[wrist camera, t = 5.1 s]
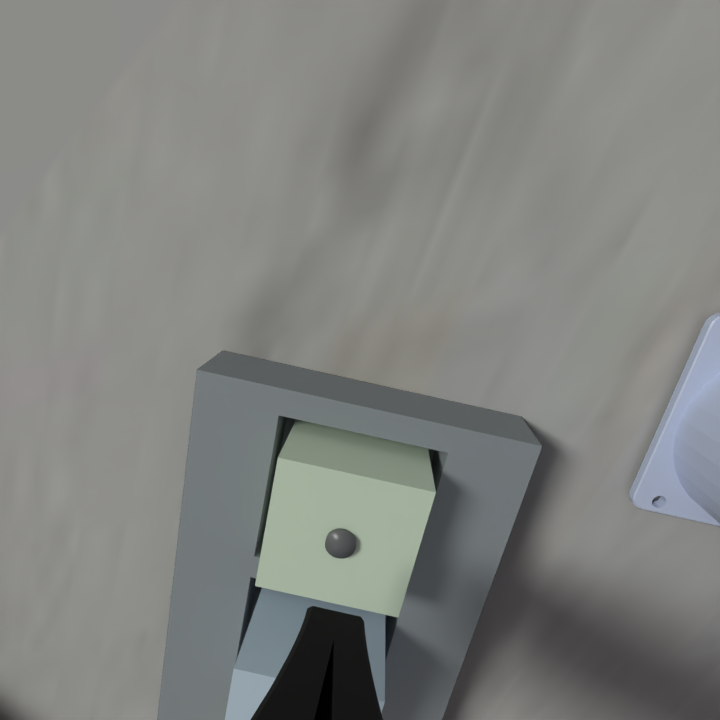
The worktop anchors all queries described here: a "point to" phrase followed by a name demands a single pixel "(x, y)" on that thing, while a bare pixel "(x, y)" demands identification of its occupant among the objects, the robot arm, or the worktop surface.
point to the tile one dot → (346, 518)
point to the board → (251, 504)
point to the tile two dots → (289, 648)
